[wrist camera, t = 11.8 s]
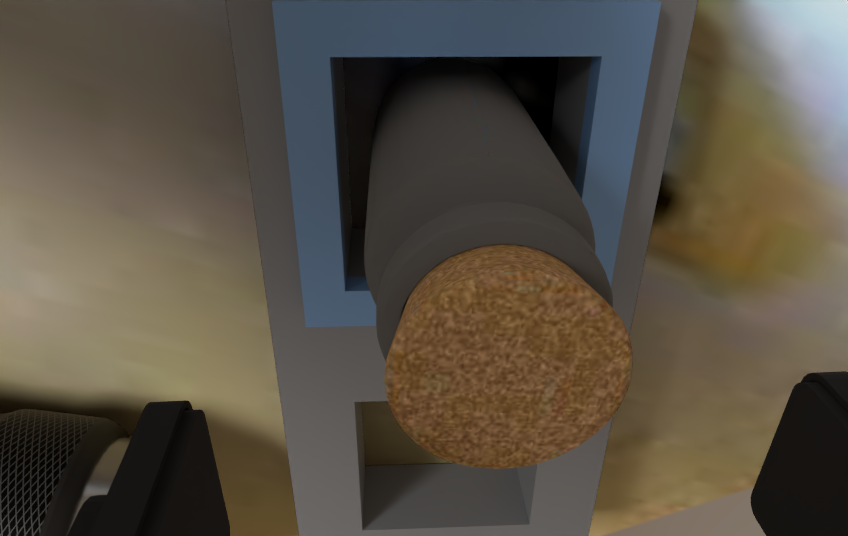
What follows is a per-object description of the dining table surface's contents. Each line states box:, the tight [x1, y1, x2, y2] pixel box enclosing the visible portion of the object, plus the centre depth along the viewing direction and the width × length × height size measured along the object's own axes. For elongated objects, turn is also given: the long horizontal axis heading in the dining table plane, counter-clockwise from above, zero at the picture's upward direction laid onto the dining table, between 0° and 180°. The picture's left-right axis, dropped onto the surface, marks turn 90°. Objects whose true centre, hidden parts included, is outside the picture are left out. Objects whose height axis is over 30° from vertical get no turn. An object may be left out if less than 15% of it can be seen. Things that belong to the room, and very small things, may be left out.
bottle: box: [364, 58, 633, 469], centre depth 19 cm, size 6×6×15 cm
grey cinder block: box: [226, 0, 698, 536], centre depth 26 cm, size 26×14×5 cm, turn 0°
